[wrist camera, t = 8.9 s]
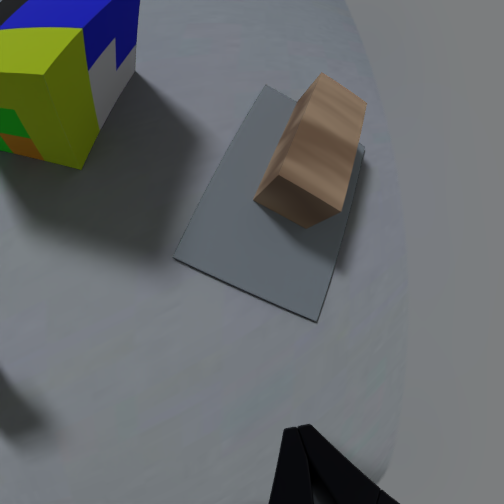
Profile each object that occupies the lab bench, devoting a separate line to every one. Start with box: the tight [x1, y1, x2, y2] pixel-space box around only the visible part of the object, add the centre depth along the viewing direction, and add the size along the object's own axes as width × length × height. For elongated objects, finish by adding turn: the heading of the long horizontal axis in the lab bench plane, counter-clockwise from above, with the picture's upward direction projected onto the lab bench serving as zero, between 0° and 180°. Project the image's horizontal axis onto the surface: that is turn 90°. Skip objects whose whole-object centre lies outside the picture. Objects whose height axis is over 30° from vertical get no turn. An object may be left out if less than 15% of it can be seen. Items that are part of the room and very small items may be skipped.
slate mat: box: [173, 85, 365, 321], centre depth 22 cm, size 17×11×1 cm, turn 158°
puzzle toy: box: [0, 0, 140, 170], centre depth 12 cm, size 10×10×10 cm
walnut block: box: [253, 73, 367, 229], centre depth 20 cm, size 4×4×11 cm
